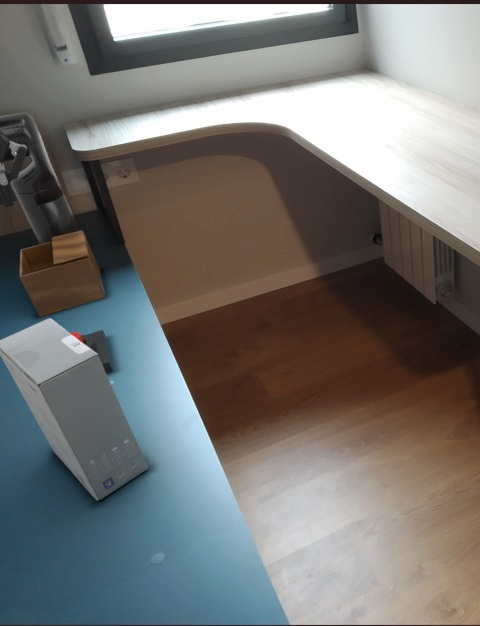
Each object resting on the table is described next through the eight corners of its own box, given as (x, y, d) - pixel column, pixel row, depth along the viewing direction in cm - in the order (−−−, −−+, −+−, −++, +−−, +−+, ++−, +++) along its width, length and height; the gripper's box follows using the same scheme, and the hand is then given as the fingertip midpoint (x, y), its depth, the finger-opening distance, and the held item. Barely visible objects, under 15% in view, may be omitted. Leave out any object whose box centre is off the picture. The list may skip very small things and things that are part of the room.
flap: (52, 238, 134) (51, 237, 133) (83, 231, 136) (82, 230, 136) (54, 264, 122) (53, 263, 122) (88, 256, 125) (87, 254, 125)
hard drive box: (151, 468, 86) (99, 354, 76) (98, 504, 82) (35, 387, 71) (102, 423, 96) (49, 315, 85) (52, 452, 91) (-11, 342, 80)
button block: (49, 357, 112) (40, 340, 110) (106, 339, 116) (99, 321, 114) (51, 393, 103) (41, 374, 101) (113, 371, 107) (105, 353, 105)
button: (59, 346, 109) (55, 337, 107) (84, 338, 110) (79, 329, 109) (60, 357, 105) (55, 348, 104) (85, 349, 107) (81, 340, 106)
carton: (38, 287, 137) (20, 249, 132) (99, 270, 141) (84, 232, 136) (39, 317, 125) (19, 277, 120) (105, 297, 130) (89, 257, 125)
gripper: (7, 92, 105) (49, 188, 114) (-83, 109, 100) (-32, 207, 110) (7, 101, 99) (51, 201, 109) (-89, 119, 94) (-34, 222, 104)
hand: (9, 204), depth 109 cm, fingers closed
